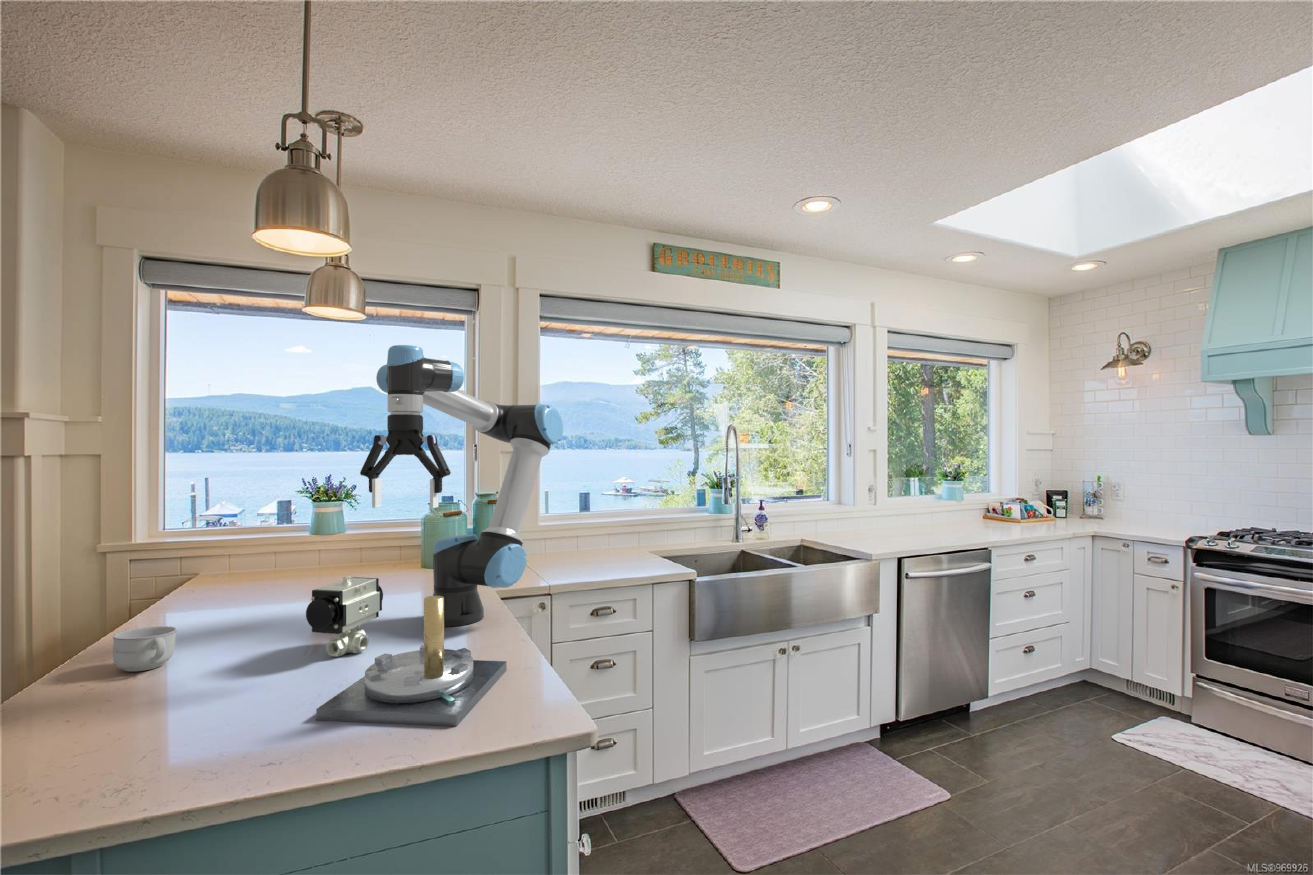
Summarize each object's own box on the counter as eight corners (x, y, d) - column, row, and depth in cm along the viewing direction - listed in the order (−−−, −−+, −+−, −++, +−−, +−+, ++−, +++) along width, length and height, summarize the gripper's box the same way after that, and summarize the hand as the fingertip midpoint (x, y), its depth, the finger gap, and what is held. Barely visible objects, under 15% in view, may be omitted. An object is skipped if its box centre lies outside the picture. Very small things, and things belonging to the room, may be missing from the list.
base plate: (392, 666, 136) (392, 654, 136) (506, 670, 133) (506, 658, 133) (316, 720, 110) (316, 705, 110) (456, 726, 108) (456, 711, 108)
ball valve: (337, 667, 135) (337, 586, 136) (304, 664, 137) (304, 584, 137) (389, 640, 153) (388, 569, 153) (358, 638, 155) (358, 568, 155)
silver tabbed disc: (340, 695, 115) (340, 600, 115) (412, 658, 134) (412, 577, 134) (430, 709, 109) (430, 609, 109) (492, 669, 128) (492, 584, 128)
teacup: (109, 667, 136) (109, 631, 136) (171, 655, 143) (171, 620, 143) (118, 684, 126) (118, 645, 126) (184, 670, 134) (184, 633, 134)
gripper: (343, 413, 137) (343, 508, 137) (451, 413, 135) (451, 509, 135) (362, 414, 145) (362, 505, 145) (465, 414, 142) (465, 506, 142)
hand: (405, 507), depth 140 cm, fingers open, 13 cm apart
